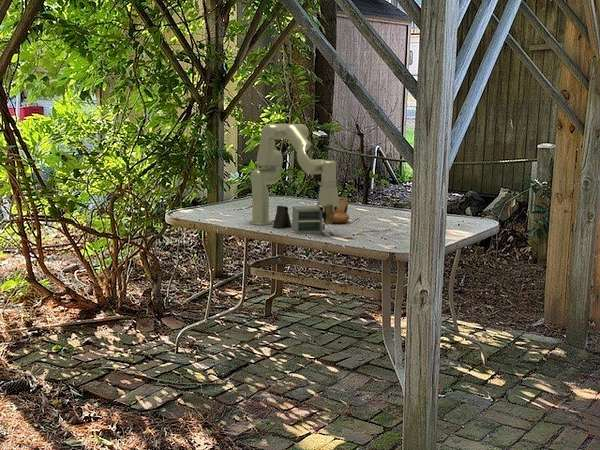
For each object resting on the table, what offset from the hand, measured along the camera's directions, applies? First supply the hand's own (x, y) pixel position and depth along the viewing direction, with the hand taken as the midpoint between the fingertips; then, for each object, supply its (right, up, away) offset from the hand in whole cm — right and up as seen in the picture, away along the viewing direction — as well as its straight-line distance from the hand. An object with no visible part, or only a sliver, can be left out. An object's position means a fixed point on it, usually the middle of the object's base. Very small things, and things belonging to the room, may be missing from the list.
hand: (327, 219), depth 401 cm
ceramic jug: (+7, -2, +44) cm, 45 cm away
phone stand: (-24, -5, +24) cm, 34 cm away
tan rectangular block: (0, -2, 0) cm, 2 cm away
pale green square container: (-8, -7, +7) cm, 13 cm away
